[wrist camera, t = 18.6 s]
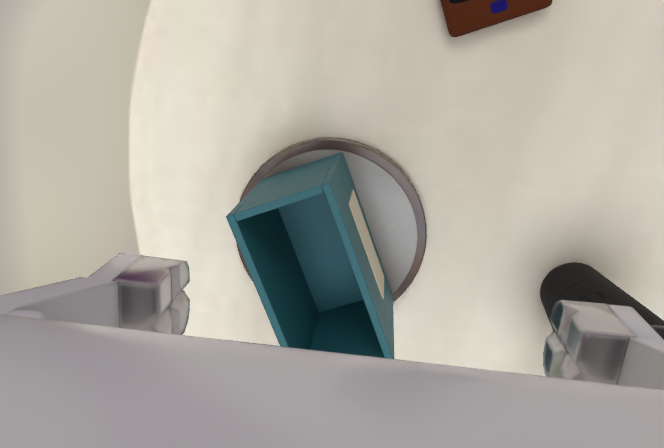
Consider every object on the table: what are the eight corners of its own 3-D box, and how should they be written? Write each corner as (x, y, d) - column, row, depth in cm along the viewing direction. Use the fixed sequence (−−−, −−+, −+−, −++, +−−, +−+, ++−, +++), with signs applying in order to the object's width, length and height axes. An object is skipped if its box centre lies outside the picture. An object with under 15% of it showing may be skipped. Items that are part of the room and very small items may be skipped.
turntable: (310, 97, 42) (307, 98, 40) (465, 216, 44) (468, 222, 42) (204, 245, 46) (198, 251, 45) (348, 348, 48) (347, 357, 46)
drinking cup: (641, 299, 44) (833, 488, 25) (557, 350, 46) (675, 561, 27) (587, 226, 43) (747, 367, 24) (503, 282, 45) (588, 453, 26)
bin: (316, 316, 45) (297, 387, 36) (261, 178, 42) (225, 216, 33) (394, 294, 44) (396, 361, 35) (344, 151, 41) (331, 181, 32)
